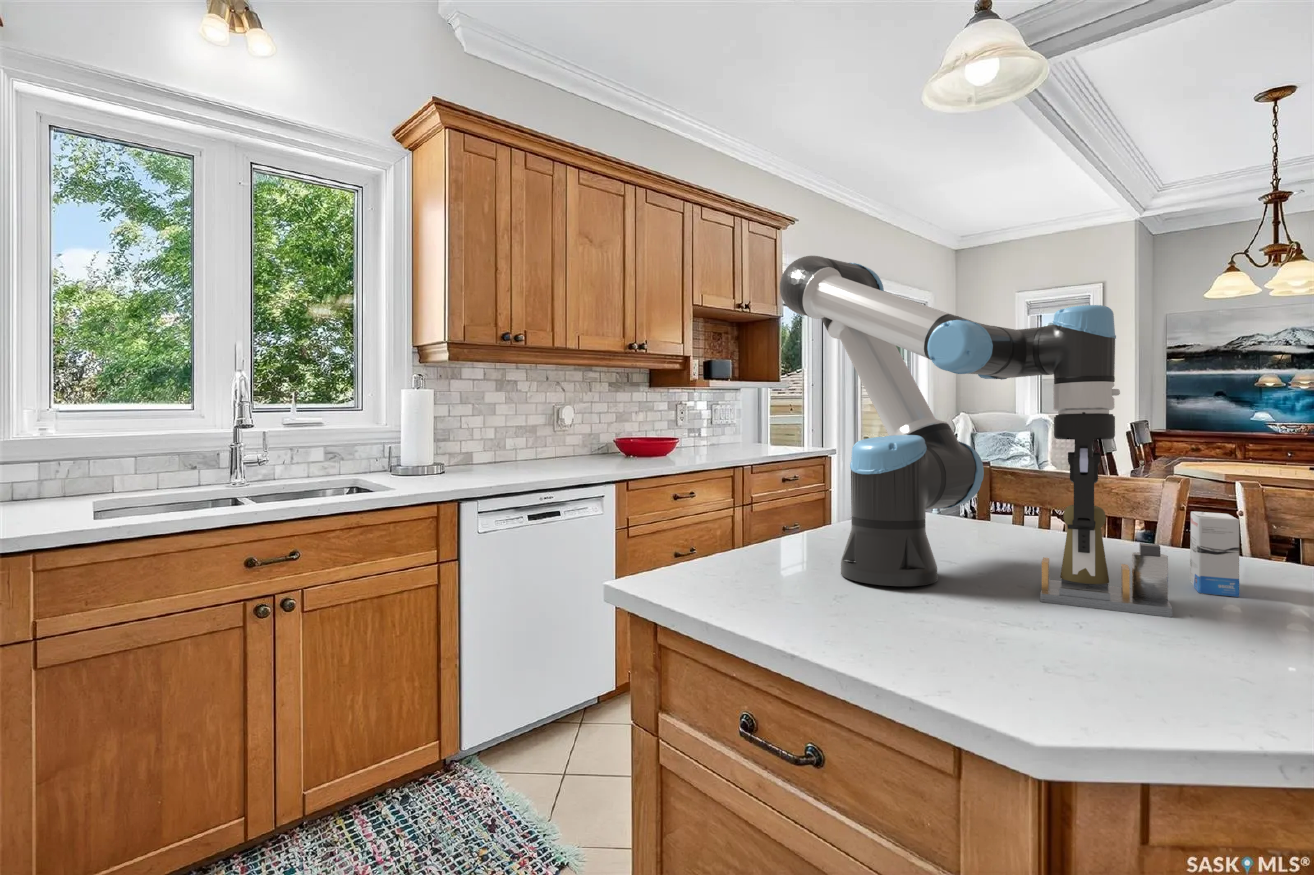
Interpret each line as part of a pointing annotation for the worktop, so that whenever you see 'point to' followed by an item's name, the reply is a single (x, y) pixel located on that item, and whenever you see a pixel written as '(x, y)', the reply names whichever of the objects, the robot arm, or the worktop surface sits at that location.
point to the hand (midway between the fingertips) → (1083, 571)
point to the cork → (1100, 559)
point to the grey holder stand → (1141, 598)
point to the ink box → (1214, 553)
